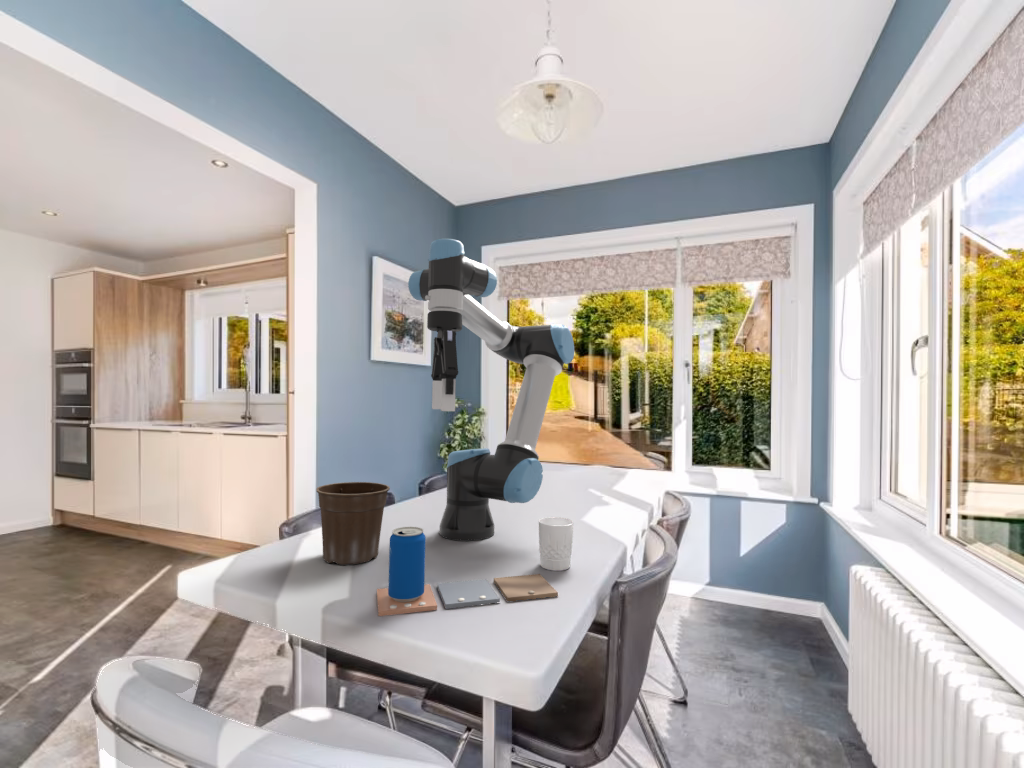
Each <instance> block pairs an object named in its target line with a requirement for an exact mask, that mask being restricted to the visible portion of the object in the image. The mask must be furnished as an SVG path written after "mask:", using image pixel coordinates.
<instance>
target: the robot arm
mask: <svg viewBox="0 0 1024 768" xmlns="http://www.w3.org/2000/svg"><path fill="white" fill-rule="evenodd" d="M428 252H429V253H428V259H427V261H428V268H422V269H421V270H416V271H413V272H412V273H411V274H410V276H409V278H408V282H407V286H408V291H409V293H410V295H411V297H412V298H413V299H414V300H416V301H423V302H426V301H428V302H427V309H428V310H429V312H428V313H427V317H426V319H427V322H426V328H427V329H428V330H429V331H431V332H437V336H435V337H434V339H433V357H432V364H431V365H432V366H431V367H432V368H431V374H430V377H431V379H432V387H431V388H432V390H431V391H432V392H431V393H432V394H431V395H432V398H431V410H440V411H441V412H455V411H456V386H457V385H456V384H457V382H456V380H457V376H458V375H459V367H458V353H457V332H460V331H462V330H463V327H465V328H467V329H468V330H470V332H472V333H473V334H475V335H476V336H477V337H479V338H480V339H481V340H483V341H484V343H485V346H486V347H487V348H488V349H489V350H491V351H492V352H493V353H495V354H496V355H498V356H500V357H501V358H504V359H505V360H508V361H511V362H512V363H515V364H521V365H524V367H525V368H526V369H525V372H524V376H523V378H522V382H521V386H520V388H519V391H518V395H517V399H516V402H515V405H514V409H513V412H512V415H511V420H510V422H509V426H508V429H507V432H506V436H505V439H504V441H502V442H500V443H499V444H497V446H496V449H495V453H494V454H491V451H490V448H487V447H486V448H471V449H464V450H463V449H462V450H456V451H455V450H454V451H452V452H450V453H449V454H448V457H447V465H446V505H445V509H444V511H443V514H442V517H441V521H440V522H439V530H438V531H439V533H438V534H439V536H441V537H442V538H445V539H449V540H454V541H466V542H467V541H480V540H484V539H488V538H491V537H492V536H493V535H495V523H494V519H493V516H492V513H491V508H490V505H489V501H490V500H496V501H502V502H508V503H511V504H513V503H514V504H515V503H518V504H526V503H528V502H530V501H532V500H533V499H534V498H535V497H536V495H537V494H538V492H540V488H541V485H542V482H543V473H544V472H543V471H544V469H543V466H542V463H541V461H540V460H539V459H540V456H539V454H538V452H537V450H536V448H537V443H538V439H539V437H540V433H541V428H542V426H543V423H544V419H545V414H546V411H547V406H548V404H549V400H550V396H551V392H552V388H553V384H554V380H555V377H556V376H558V375H560V374H561V373H562V371H563V367H564V364H565V365H568V364H570V363H572V362H573V360H574V357H575V344H574V339H573V335H572V333H571V331H570V329H569V328H568V327H567V325H565V324H560V323H559V324H557V323H556V324H554V323H551V324H544V325H542V324H541V325H529V326H528V325H527V326H516V325H511V324H510V323H509V322H508V321H505V320H500V319H499V318H497V316H495V315H494V314H492V313H491V312H490V311H489V310H488V309H487V308H485V307H484V306H483V305H482V304H481V303H480V302H478V301H477V300H476V299H475V298H473V296H474V297H477V298H487V297H489V296H491V295H492V294H493V293H494V292H495V290H496V289H497V285H498V277H497V275H496V272H495V271H494V269H492V267H489V266H488V265H486V264H485V263H481V262H478V261H476V260H473V259H471V258H468V257H467V256H465V247H464V244H463V243H462V242H461V241H460V240H457V239H454V238H439V239H435V240H433V241H432V242H431V243H430V245H429V251H428Z"/></svg>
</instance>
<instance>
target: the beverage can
mask: <svg viewBox="0 0 1024 768" xmlns="http://www.w3.org/2000/svg"><path fill="white" fill-rule="evenodd" d="M391 532H392V533H391V535H390V536H389V537H390V538H389V549H388V550H389V552H388V553H389V555H388V557H389V558H388V587H387V588H388V595H389V596H390V597H391V598H393V600H395V601H398V602H411V601H414V600H417V599H418V598H419V597H420V596H421V595H422V594H423V593H424V585H425V573H426V572H425V571H426V569H425V568H426V541H427V540H426V534H425V533H424V529H423V528H421V527H417V526H402V527H397V528H395V529H393V530H392V531H391Z"/></svg>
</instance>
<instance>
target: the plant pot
mask: <svg viewBox="0 0 1024 768" xmlns="http://www.w3.org/2000/svg"><path fill="white" fill-rule="evenodd" d="M390 488H391V486H390V485H388V484H384V483H379V482H373V481H372V482H371V481H368V482H367V481H346V482H334V483H328V484H324V485H320V486H318V487H317V488H316V489H315V491H316V493H318V506H319V508H320V517H321V518H320V519H321V538H322V540H321V541H322V558H323V561H325V562H326V563H329V564H332V563H336V564H337V565H346V566H347V565H349V566H350V565H359V564H362V563H367V562H369V561H371V560H372V559H376V558H377V557H378V555H379V549H380V548H379V546H380V539H381V531H382V524H383V516H384V510H385V506H386V505H387V497H388V492H389V491H390Z"/></svg>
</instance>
